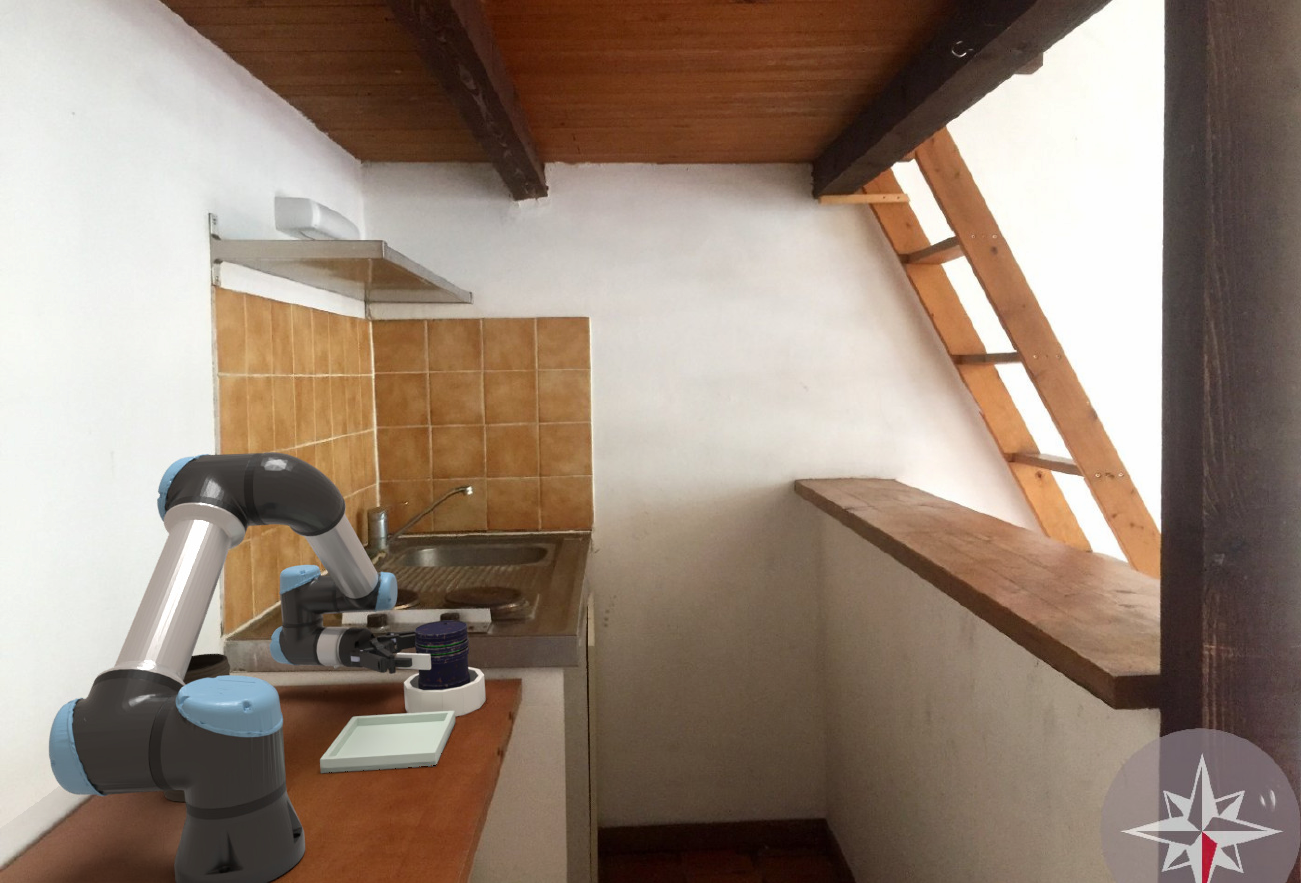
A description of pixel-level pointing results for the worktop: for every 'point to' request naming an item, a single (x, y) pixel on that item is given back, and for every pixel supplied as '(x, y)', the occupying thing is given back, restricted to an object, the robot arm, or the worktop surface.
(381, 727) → the tray
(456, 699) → the holder ring
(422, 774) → the worktop surface
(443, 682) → the rusty blue drum
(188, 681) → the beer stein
